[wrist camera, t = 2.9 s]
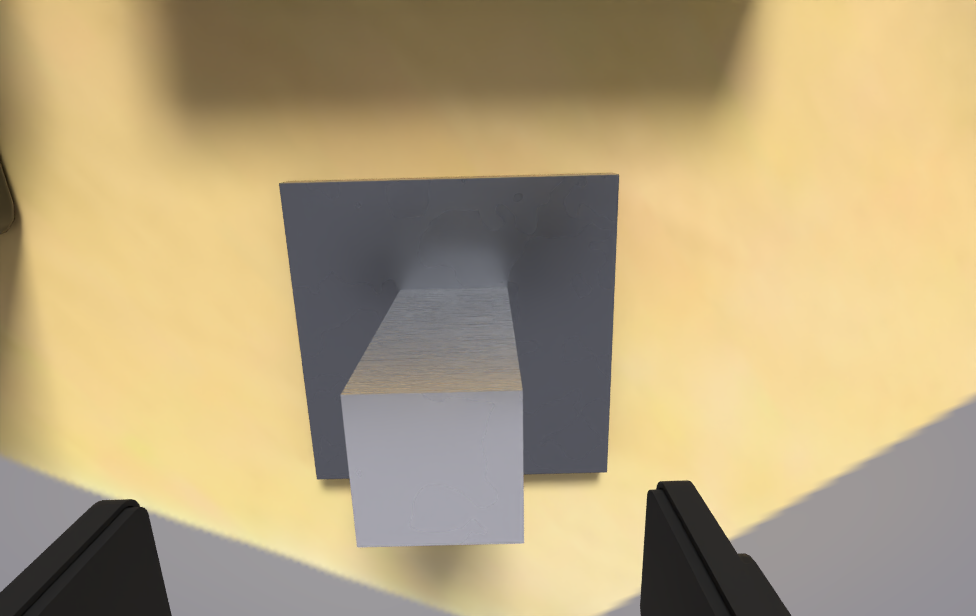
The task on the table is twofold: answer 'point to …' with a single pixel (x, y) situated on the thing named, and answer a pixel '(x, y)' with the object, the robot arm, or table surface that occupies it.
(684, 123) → the table surface
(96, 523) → the robot arm
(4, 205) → the wine bottle
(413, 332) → the strut
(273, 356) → the table surface
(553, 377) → the stud plate
